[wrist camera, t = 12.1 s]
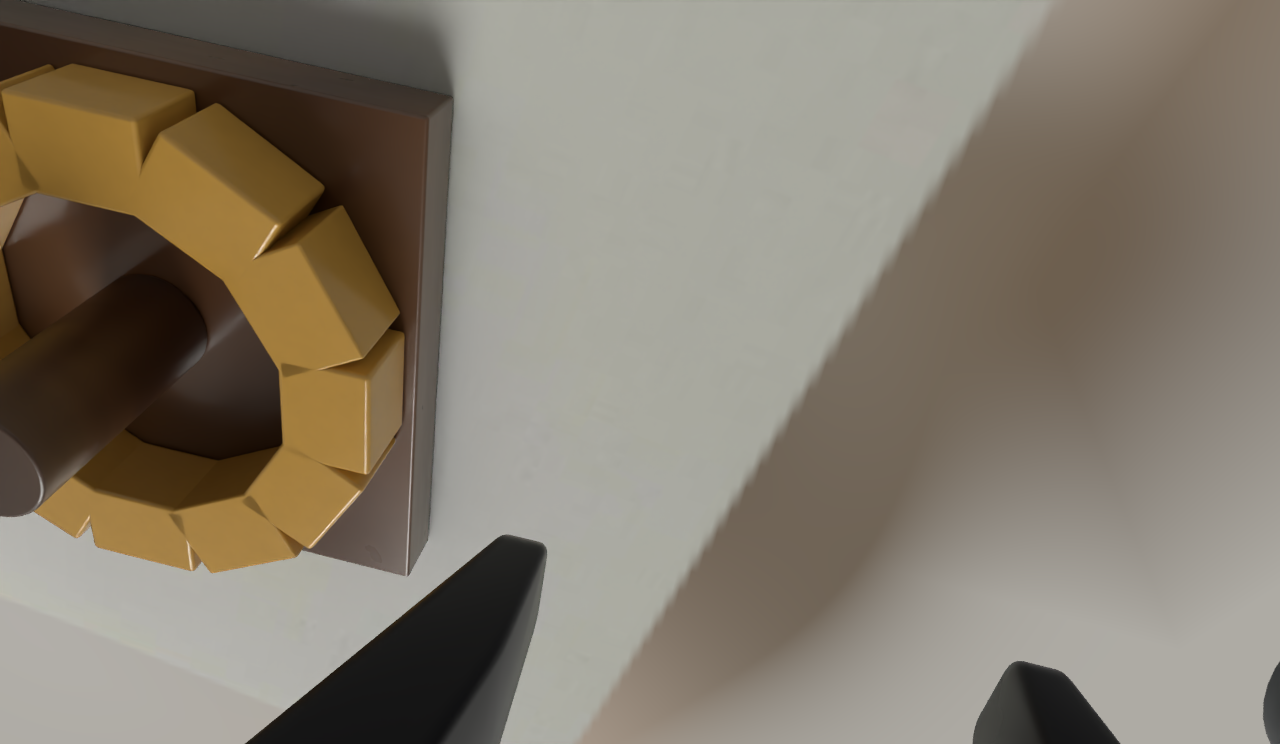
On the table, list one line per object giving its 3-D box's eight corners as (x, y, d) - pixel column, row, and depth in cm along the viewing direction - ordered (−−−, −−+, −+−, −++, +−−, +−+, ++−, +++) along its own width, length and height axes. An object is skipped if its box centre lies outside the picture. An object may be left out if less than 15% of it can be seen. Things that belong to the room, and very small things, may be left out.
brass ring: (412, 137, 15) (371, 173, 13) (398, 560, 20) (367, 617, 18) (-136, 15, 15) (-229, 38, 14) (-15, 458, 20) (-75, 506, 19)
